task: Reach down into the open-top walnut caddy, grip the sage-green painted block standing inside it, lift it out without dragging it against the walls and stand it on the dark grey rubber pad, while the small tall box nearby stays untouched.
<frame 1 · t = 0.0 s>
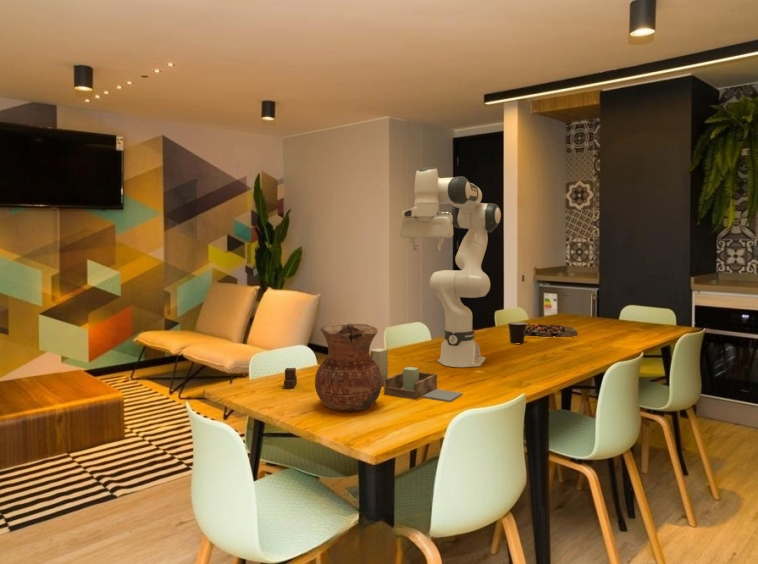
hand: (426, 250, 214), 48 cm above the table, tool pointing down, fingers open, 8 cm apart
block: (411, 380, 201), in the caddy
dark brown cup: (515, 344, 290), on the table
food dish: (545, 335, 317), on the table
stack of crates: (294, 388, 209), on the table
brown clay vase: (348, 406, 185), on the table
box: (379, 385, 211), on the table
pad: (442, 396, 195), on the table
caddy: (410, 391, 202), on the table
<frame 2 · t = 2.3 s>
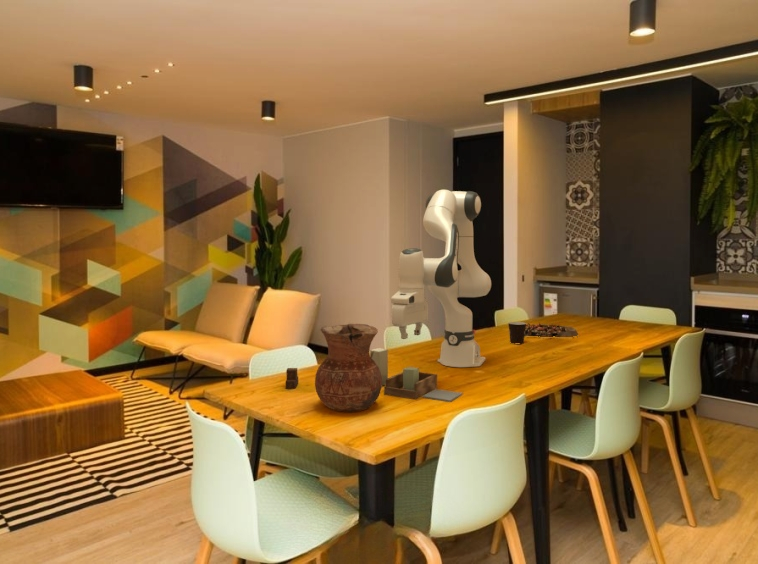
hand: (411, 336, 200), 19 cm above the table, tool pointing down, fingers open, 8 cm apart
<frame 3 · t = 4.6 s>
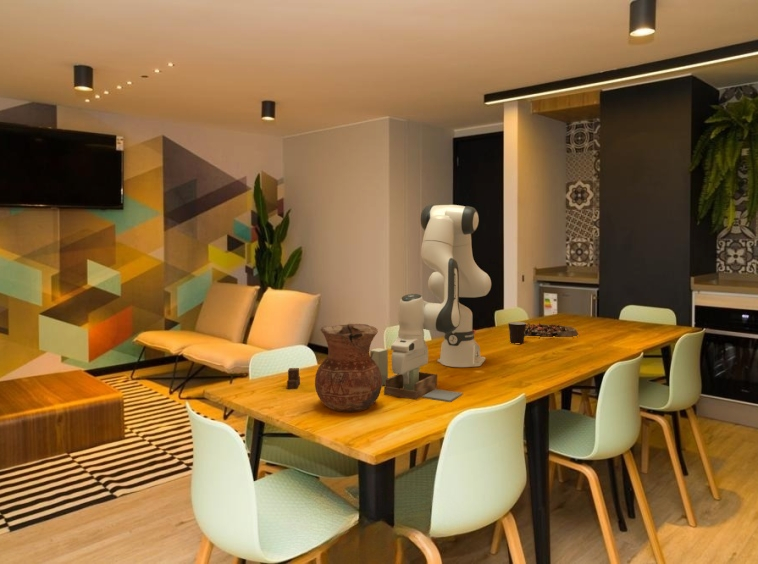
hand: (410, 381, 201), 3 cm above the table, tool pointing down, fingers closed on block, 4 cm apart
block: (411, 379, 201), in the caddy, touching gripper
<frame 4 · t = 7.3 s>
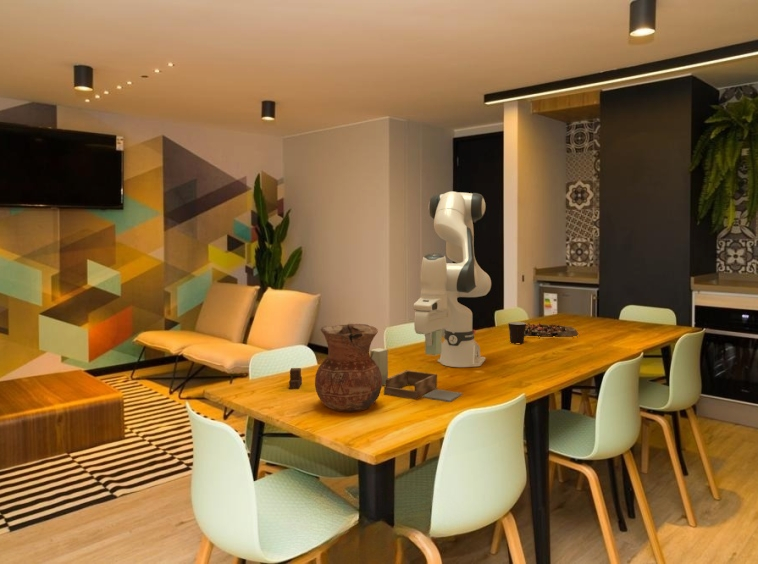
hand: (433, 344, 196), 17 cm above the table, tool pointing down, fingers closed on block, 4 cm apart
block: (433, 342, 196), point 18 cm above the table, touching gripper
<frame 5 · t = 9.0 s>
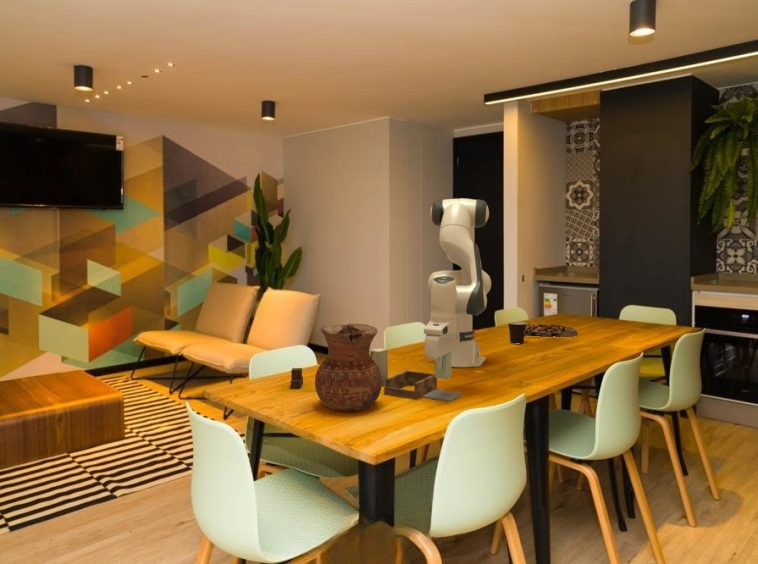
hand: (443, 367, 195), 10 cm above the table, tool pointing down, fingers closed on block, 4 cm apart
block: (443, 365, 194), point 10 cm above the table, touching gripper
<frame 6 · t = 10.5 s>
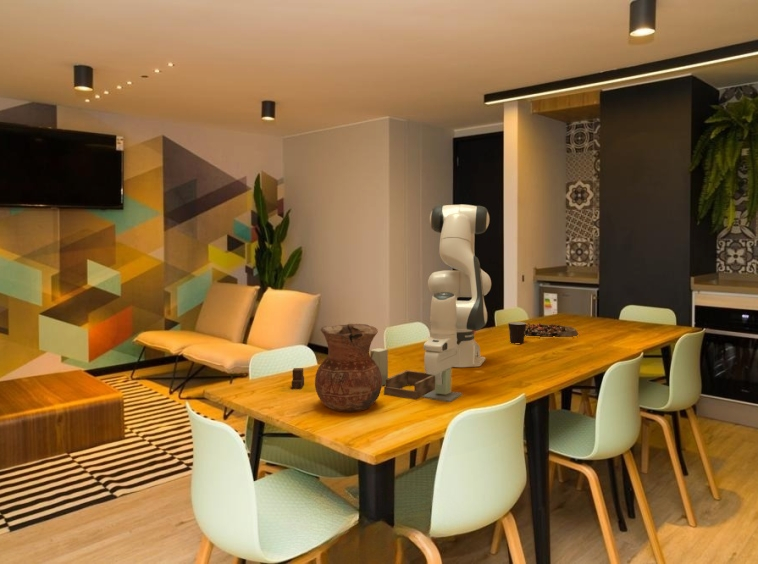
hand: (442, 382, 195), 5 cm above the table, tool pointing down, fingers closed on block, 4 cm apart
block: (443, 380, 195), point 5 cm above the table, touching gripper
when the fingers open (5 cm above the table, at t = 10.7 s): block stays where it is, resting on pad.
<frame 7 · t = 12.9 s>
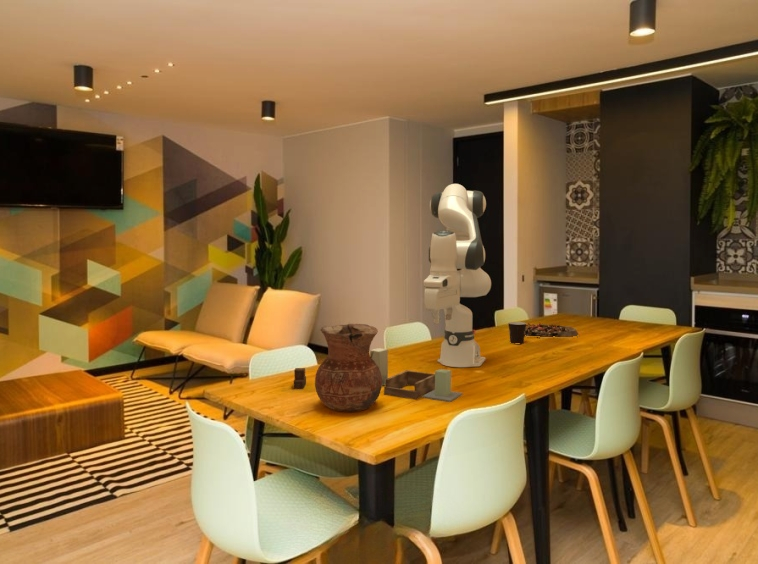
hand: (443, 321, 194), 25 cm above the table, tool pointing down, fingers open, 8 cm apart
block: (442, 382, 195), on the pad, point 5 cm above the table
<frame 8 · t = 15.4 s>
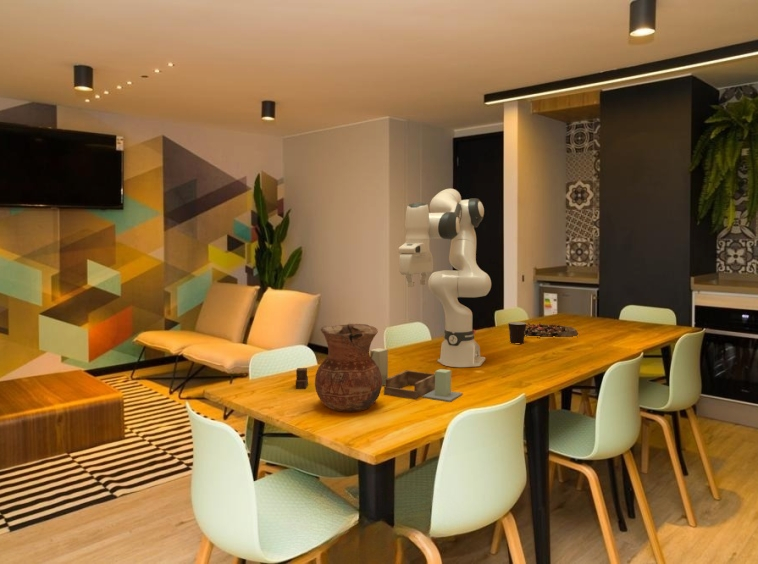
hand: (417, 285, 213), 35 cm above the table, tool pointing down, fingers open, 8 cm apart
at the end: block inside the target area on the pad (0.1 cm from its centre), point 4.6 cm above the pad's base; block tilted 0°; the gripper is holding nothing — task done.
